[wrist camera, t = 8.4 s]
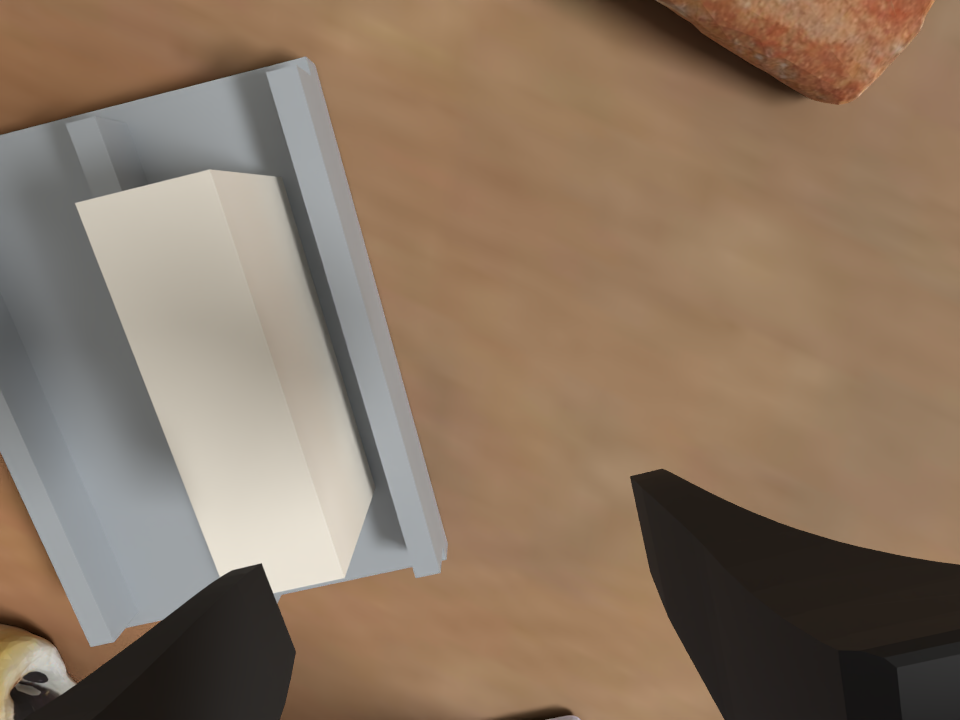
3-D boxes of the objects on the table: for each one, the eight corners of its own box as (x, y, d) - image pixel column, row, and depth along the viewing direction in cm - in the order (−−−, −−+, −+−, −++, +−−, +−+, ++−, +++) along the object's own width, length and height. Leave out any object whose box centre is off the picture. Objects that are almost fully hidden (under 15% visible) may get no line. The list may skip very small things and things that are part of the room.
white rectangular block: (375, 487, 20) (344, 578, 15) (287, 507, 20) (229, 602, 16) (281, 177, 18) (209, 169, 13) (182, 201, 18) (74, 203, 13)
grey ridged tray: (447, 543, 22) (444, 586, 20) (137, 610, 23) (96, 659, 20) (315, 64, 18) (289, 43, 16) (-58, 159, 19) (-138, 153, 16)
